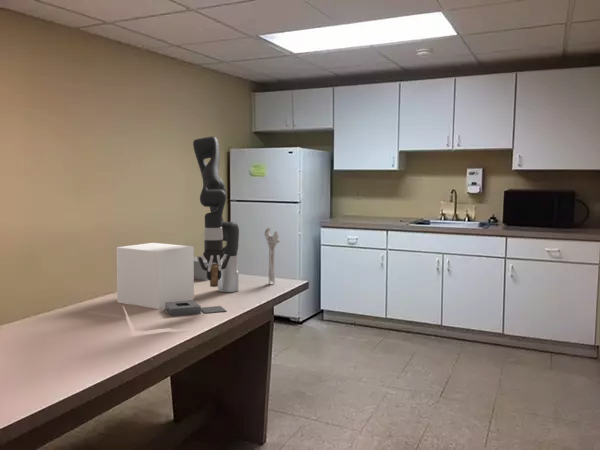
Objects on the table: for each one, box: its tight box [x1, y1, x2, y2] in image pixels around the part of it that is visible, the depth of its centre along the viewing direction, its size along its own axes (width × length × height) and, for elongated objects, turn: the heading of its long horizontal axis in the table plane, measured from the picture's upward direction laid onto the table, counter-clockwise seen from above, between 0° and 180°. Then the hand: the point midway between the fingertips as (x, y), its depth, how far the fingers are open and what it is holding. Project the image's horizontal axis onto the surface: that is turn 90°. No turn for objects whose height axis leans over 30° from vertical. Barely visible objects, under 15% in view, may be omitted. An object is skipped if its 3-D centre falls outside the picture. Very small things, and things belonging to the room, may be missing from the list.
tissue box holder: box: [194, 256, 216, 282], centre depth 291 cm, size 25×23×11 cm
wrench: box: [264, 227, 281, 285], centre depth 267 cm, size 8×2×30 cm, turn 70°
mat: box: [201, 305, 227, 315], centre depth 217 cm, size 9×9×1 cm
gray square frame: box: [164, 299, 202, 317], centre depth 214 cm, size 12×12×3 cm
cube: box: [116, 242, 195, 310], centre depth 232 cm, size 25×21×24 cm
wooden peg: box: [209, 264, 218, 288], centre depth 216 cm, size 3×3×9 cm
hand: (213, 279), depth 216 cm, fingers closed on wooden peg, 3 cm apart
